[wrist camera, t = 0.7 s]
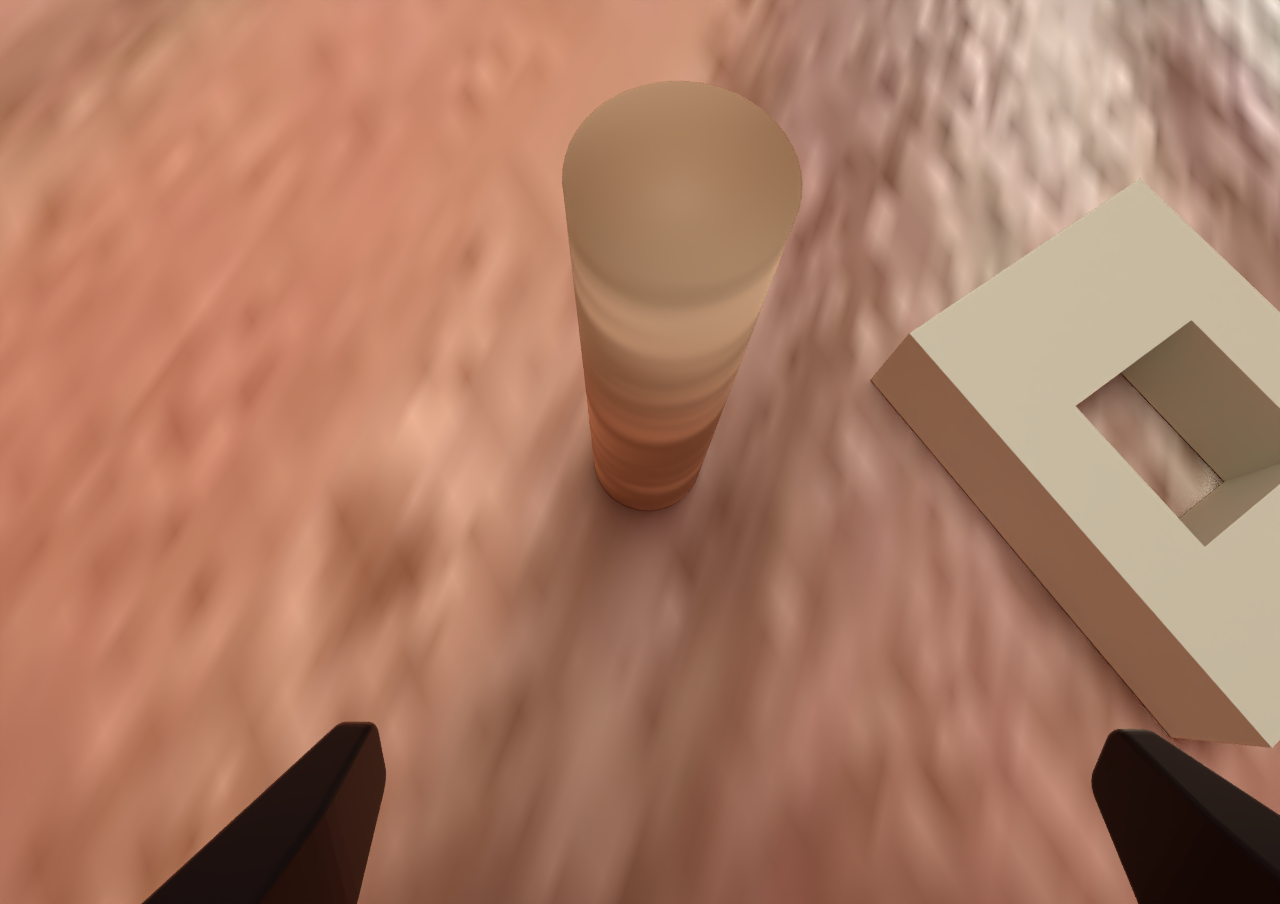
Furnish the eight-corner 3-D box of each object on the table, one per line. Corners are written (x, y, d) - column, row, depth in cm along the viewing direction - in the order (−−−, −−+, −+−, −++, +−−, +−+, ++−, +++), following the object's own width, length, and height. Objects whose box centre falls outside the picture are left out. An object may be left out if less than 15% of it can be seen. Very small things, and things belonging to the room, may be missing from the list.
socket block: (1379, 550, 24) (1505, 528, 20) (1171, 737, 22) (1271, 747, 18) (1075, 241, 27) (1140, 178, 24) (870, 379, 25) (909, 333, 22)
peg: (721, 472, 24) (851, 205, 10) (633, 531, 23) (653, 326, 10) (659, 390, 25) (708, 46, 11) (573, 445, 24) (516, 149, 11)
